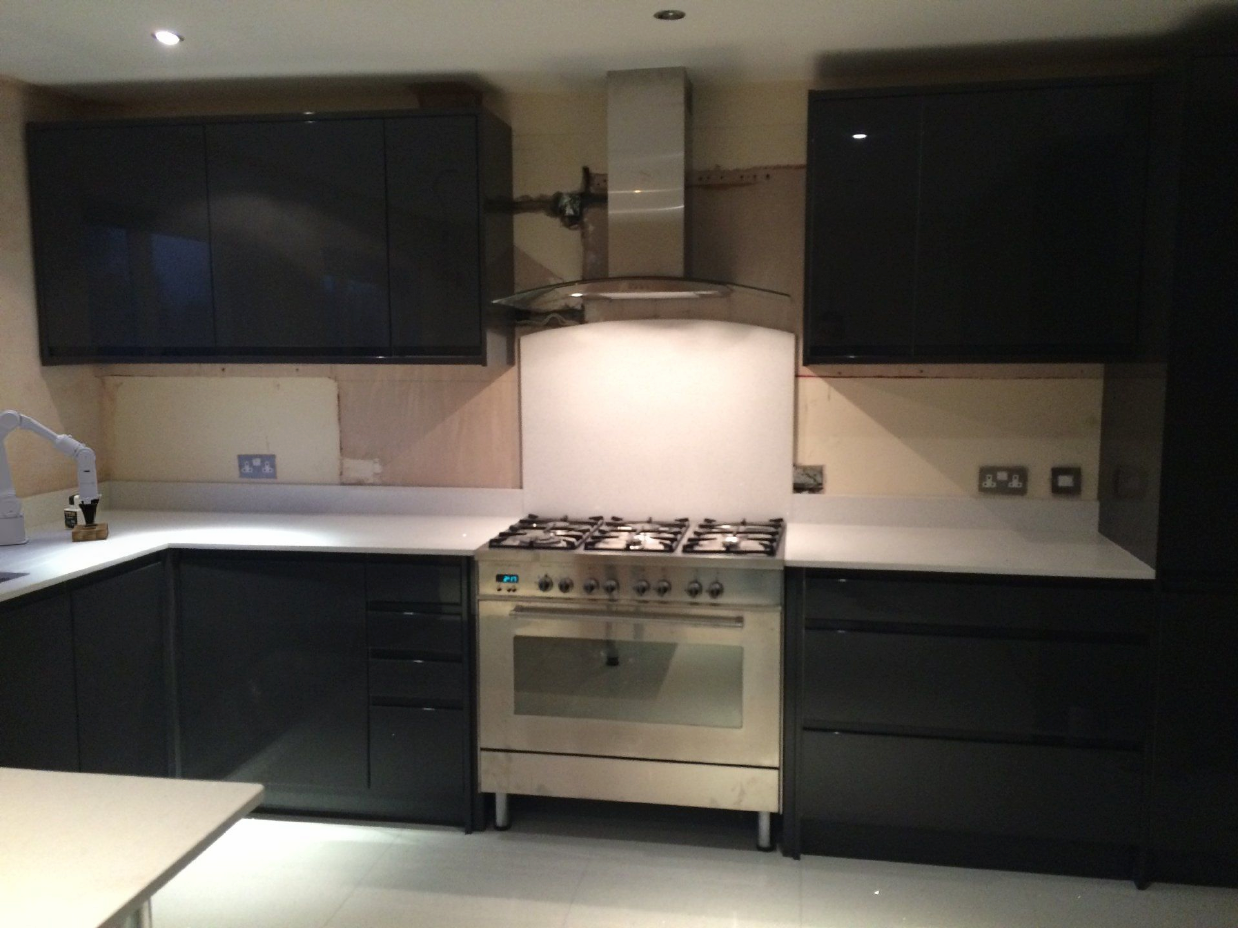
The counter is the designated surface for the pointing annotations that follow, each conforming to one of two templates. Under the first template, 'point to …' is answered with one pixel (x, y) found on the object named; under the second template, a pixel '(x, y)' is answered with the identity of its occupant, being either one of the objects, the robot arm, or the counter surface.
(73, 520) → the medicine bottle
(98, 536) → the hole block
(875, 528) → the counter surface
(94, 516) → the steel pin
